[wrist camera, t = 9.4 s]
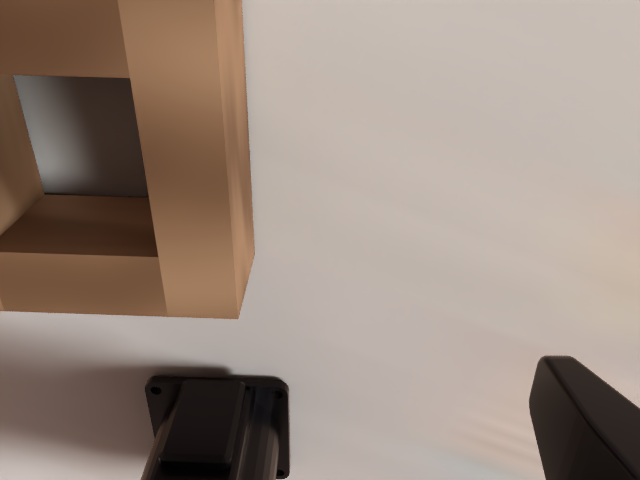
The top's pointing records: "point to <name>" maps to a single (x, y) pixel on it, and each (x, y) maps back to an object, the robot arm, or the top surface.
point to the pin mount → (158, 157)
